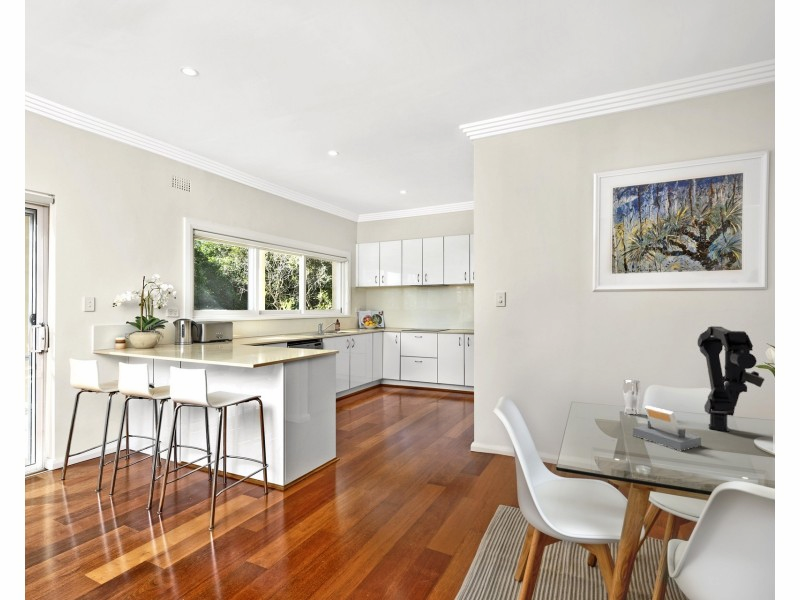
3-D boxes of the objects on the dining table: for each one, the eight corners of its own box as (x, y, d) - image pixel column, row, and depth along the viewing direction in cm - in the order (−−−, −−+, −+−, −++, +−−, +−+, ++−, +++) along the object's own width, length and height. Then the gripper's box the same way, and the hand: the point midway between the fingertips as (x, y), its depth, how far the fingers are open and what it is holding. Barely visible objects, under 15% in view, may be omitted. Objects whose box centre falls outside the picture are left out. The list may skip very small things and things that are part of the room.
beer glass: (619, 412, 199) (619, 380, 199) (630, 410, 202) (630, 379, 202) (632, 416, 193) (632, 383, 193) (643, 414, 195) (644, 381, 195)
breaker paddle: (654, 424, 166) (647, 405, 164) (680, 432, 157) (673, 411, 155) (651, 427, 165) (644, 408, 163) (677, 435, 156) (670, 414, 154)
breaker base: (653, 431, 172) (653, 416, 172) (700, 446, 155) (701, 429, 155) (632, 435, 166) (633, 420, 166) (680, 451, 150) (680, 434, 150)
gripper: (765, 370, 149) (765, 415, 149) (759, 363, 164) (758, 403, 164) (725, 367, 155) (725, 410, 155) (722, 360, 170) (722, 399, 171)
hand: (734, 405), depth 161 cm, fingers closed
